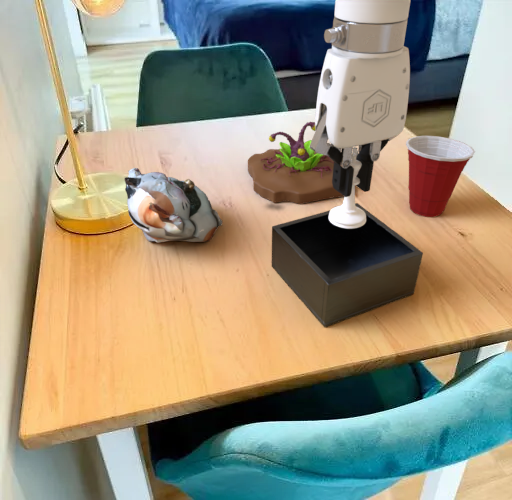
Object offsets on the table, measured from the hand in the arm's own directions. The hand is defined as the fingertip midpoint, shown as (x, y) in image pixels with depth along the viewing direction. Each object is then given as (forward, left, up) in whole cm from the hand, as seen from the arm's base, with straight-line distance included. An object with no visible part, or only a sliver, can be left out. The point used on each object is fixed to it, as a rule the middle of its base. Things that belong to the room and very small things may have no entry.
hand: (350, 188), depth 64 cm
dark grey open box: (0, 0, -15) cm, 15 cm away
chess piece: (0, 0, -5) cm, 5 cm away
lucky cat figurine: (+22, +17, -15) cm, 32 cm away
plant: (+30, -11, -15) cm, 35 cm away
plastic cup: (+10, -25, -15) cm, 31 cm away
